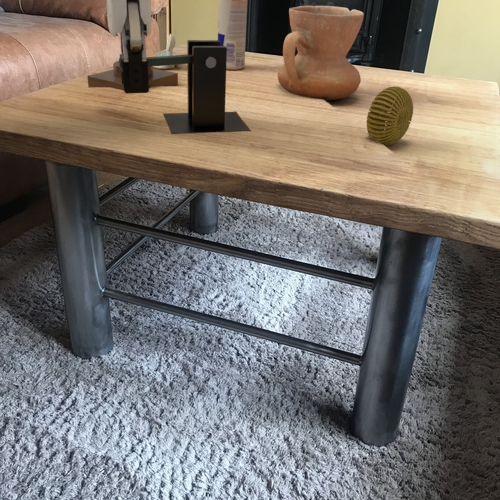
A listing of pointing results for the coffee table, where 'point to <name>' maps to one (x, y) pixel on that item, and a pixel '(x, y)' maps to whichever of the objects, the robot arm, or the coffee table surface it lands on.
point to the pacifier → (168, 52)
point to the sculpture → (390, 115)
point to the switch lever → (164, 60)
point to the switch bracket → (206, 93)
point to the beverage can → (233, 31)
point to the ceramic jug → (320, 52)
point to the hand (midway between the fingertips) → (135, 87)
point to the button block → (115, 81)
